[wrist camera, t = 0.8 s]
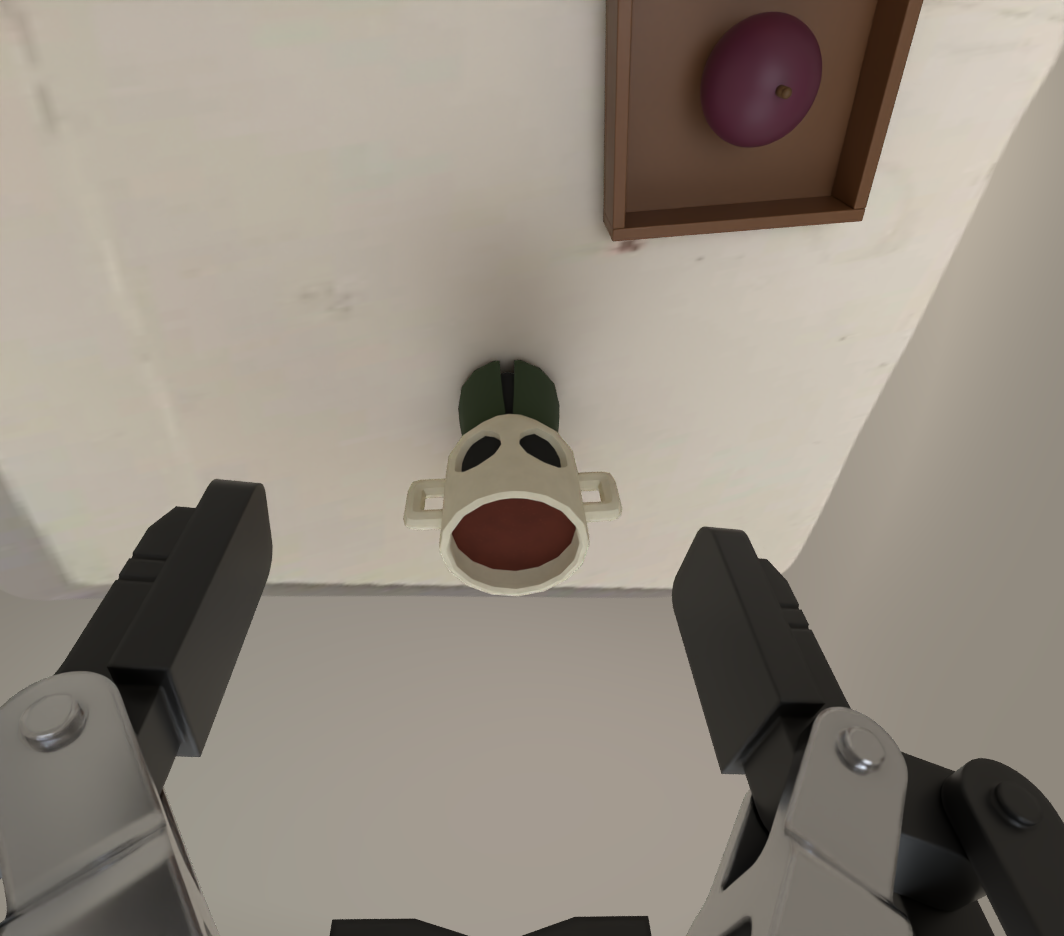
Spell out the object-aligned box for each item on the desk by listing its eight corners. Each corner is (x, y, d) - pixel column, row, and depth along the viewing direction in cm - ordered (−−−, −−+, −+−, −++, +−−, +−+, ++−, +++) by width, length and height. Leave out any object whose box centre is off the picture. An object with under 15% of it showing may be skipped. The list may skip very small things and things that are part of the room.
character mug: (596, 344, 36) (638, 485, 26) (591, 440, 40) (624, 592, 30) (414, 351, 35) (384, 497, 25) (429, 447, 40) (408, 603, 30)
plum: (693, 14, 25) (735, 20, 21) (805, 5, 25) (869, 9, 21) (682, 139, 28) (717, 167, 24) (782, 131, 28) (834, 157, 24)
